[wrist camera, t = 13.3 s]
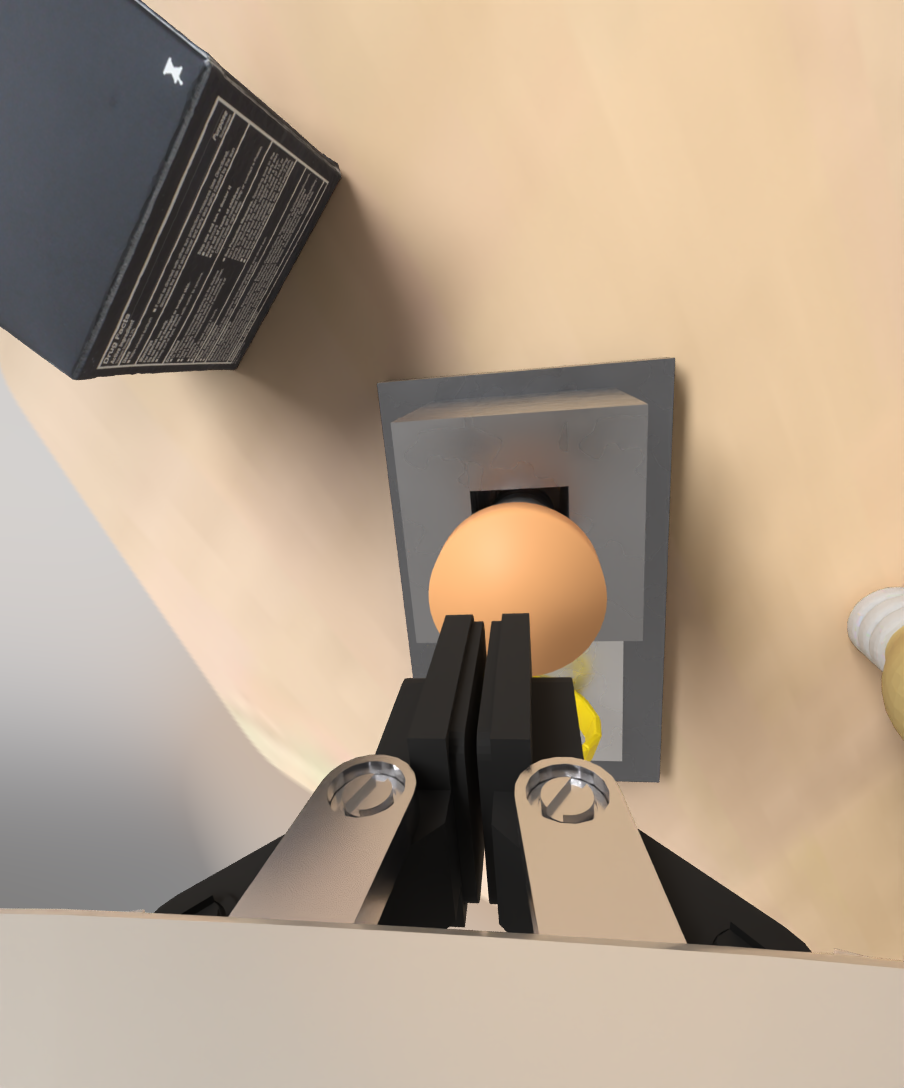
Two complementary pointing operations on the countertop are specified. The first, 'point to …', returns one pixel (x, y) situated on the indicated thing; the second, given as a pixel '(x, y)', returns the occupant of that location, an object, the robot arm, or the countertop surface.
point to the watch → (588, 726)
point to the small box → (140, 193)
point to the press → (576, 492)
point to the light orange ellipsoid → (523, 576)
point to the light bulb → (883, 644)
